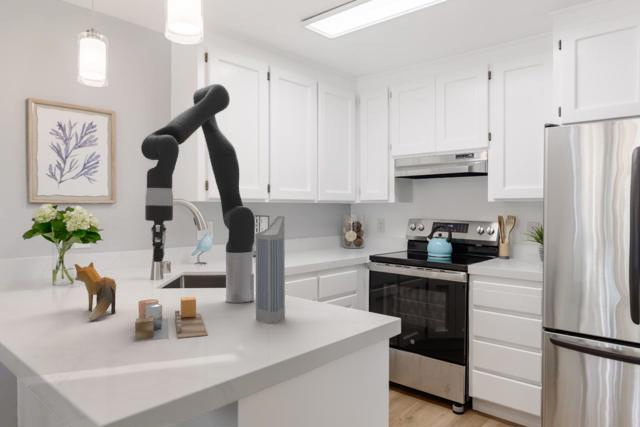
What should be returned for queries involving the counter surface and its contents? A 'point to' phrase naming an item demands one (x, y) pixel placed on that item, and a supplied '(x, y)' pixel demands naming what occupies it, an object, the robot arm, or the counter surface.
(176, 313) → the rail
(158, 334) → the slate tray
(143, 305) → the salmon domed cylinder
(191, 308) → the orange block
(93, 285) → the toy
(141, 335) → the oak block
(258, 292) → the building model
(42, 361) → the counter surface
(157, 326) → the metal canister
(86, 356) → the counter surface
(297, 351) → the counter surface
